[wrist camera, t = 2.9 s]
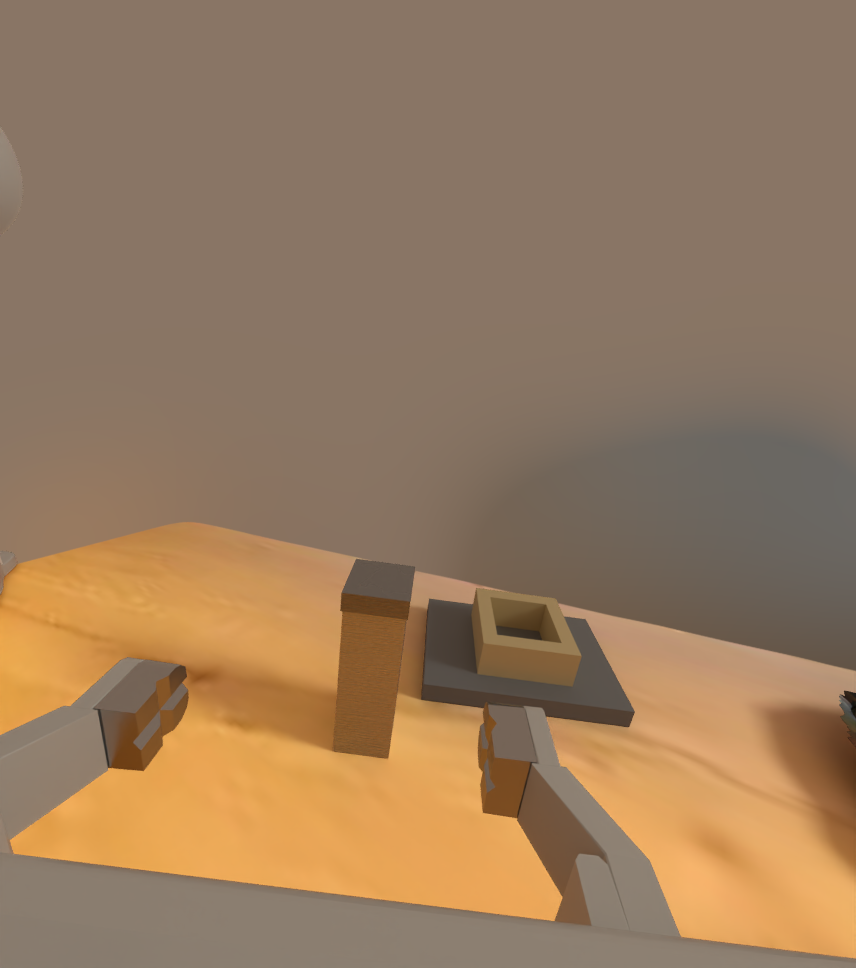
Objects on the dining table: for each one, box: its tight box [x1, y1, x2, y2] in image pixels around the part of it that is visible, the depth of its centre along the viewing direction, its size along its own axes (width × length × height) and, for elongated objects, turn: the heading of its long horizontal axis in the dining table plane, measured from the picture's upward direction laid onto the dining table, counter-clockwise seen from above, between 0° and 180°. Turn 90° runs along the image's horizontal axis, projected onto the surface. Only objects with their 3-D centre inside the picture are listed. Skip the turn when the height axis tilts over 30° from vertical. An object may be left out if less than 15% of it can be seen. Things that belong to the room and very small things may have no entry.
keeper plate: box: [421, 588, 635, 727], centre depth 35 cm, size 16×11×4 cm
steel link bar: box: [333, 559, 415, 758], centre depth 25 cm, size 4×4×12 cm
